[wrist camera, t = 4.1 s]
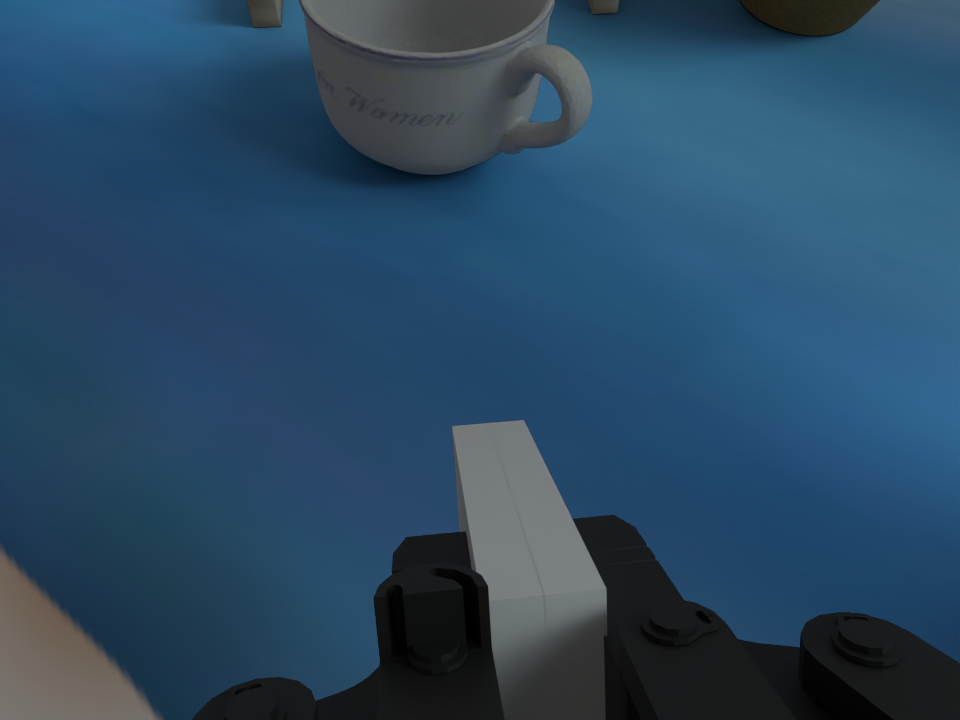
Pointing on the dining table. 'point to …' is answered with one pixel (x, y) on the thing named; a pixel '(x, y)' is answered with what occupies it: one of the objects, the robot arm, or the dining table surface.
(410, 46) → the teacup
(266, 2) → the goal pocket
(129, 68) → the dining table surface
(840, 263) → the dining table surface
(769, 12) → the plant pot
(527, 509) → the robot arm
